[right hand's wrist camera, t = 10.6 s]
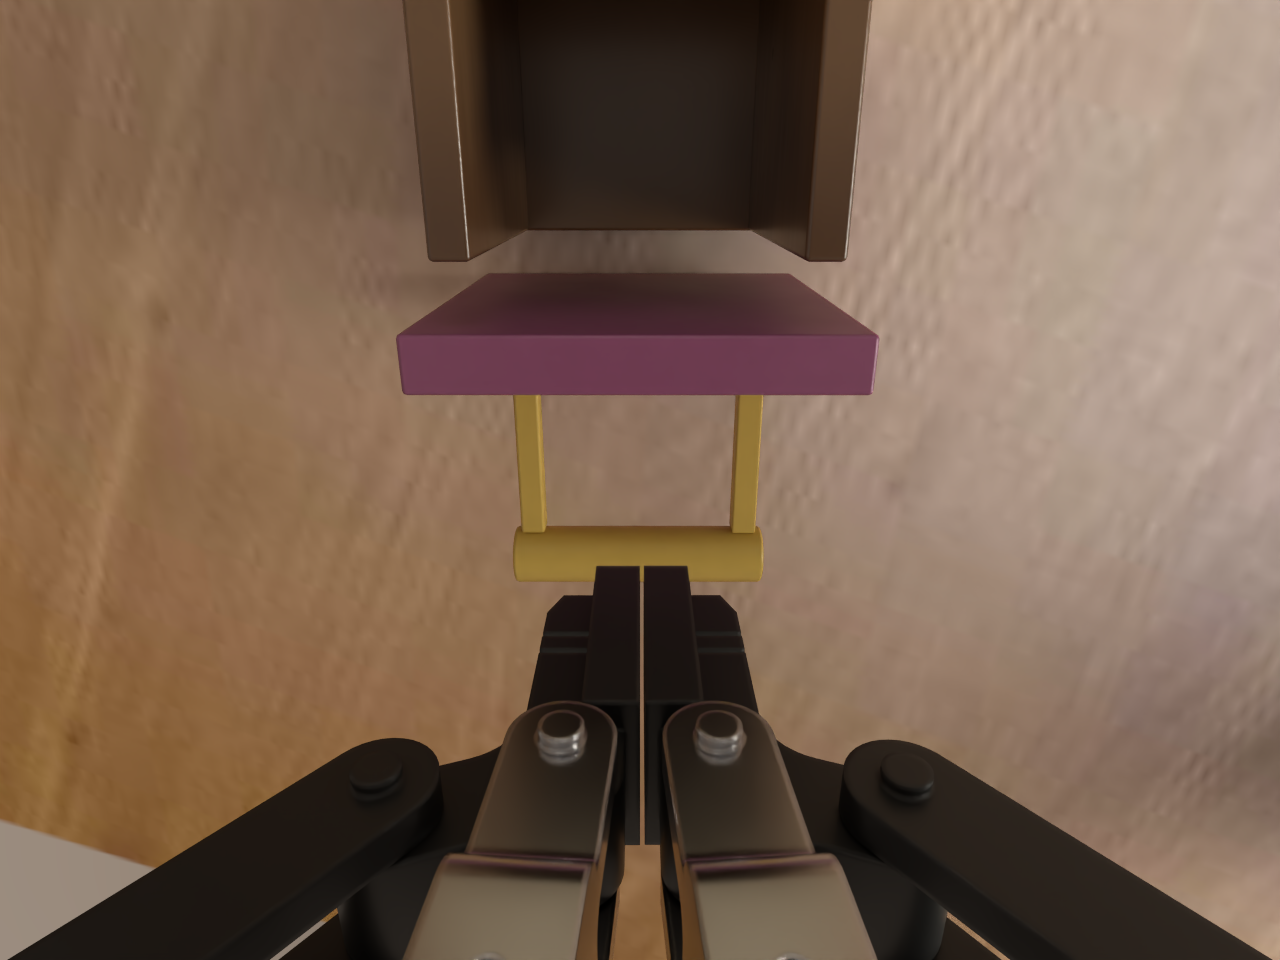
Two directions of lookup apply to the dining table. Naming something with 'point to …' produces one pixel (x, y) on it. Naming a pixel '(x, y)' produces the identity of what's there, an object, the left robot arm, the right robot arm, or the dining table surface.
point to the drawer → (637, 226)
